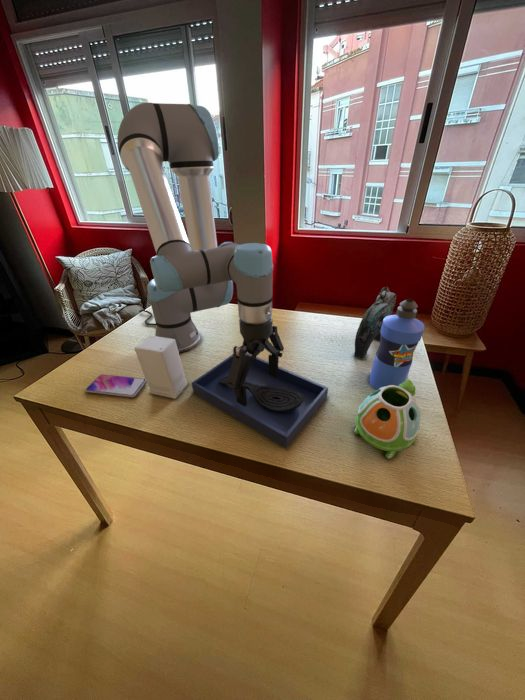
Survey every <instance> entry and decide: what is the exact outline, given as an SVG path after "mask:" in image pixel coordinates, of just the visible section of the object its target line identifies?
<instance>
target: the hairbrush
mask: <svg viewBox="0 0 525 700" xmlns="http://www.w3.org/2000/svg"><path fill="white" fill-rule="evenodd" d="M227 380H228V376H227V377H223V378H220V379H219V383H220V384H221V385H226V386H227ZM239 382H240V381H239ZM244 384H245V385H246V389H248V390H249V391H250V392H251V393H252V395H253V396H254V398H255V400H256V401H257V403H258V404H259V405H261V406H262V407H263V408H264V409H267V410H269V411H271V412H278V413H282V412H287V411H292V410H294V409H296V408H297V407H299V406H300V405H301V403H302V402H303V396H302V394H301V391H300V393H298V392H295V391H293V390H287V389H281V388H280V387H279V388H276V387H270V386H269V387H268V386H258V385H255V384H252V383H250V382H247V381H244ZM265 384H266V383H265ZM268 385H269V384H268ZM271 385H272V384H271ZM278 386H279V385H278ZM292 389H293V388H292ZM297 390H298V389H297ZM257 395H258V396H257Z"/></svg>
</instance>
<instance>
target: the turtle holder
mask: <svg viewBox="0 0 525 700" xmlns="http://www.w3.org/2000/svg"><path fill="white" fill-rule="evenodd" d="M415 395H416V386H415V385H414V384H413V382H412V381H411V380H410V379H406V381H404V382H403V383H401V384H400V385H399V386H395V385H389V386H386V387H381V388H380V389H378V390H377V389H375V390H374V391H373V392H371V393H370V394H369V395H368V396H367V397H365V399H364V400H363V401H362V403H361V404H360V405H359V407H358V410H357V416H356V420H355V422H356V427H355V428H354V431H353V433H354V434H355V435H359V436H360V437H361V438H363V440H364V441H365V442H367V443H368V444H369V445H371V446H373V447H374V448H375V449H379V450H381V451H385V457H386V459H392V458H394V456H395V455H396V453H397V452H399V451H402V450H405V449H408V448H409V447H410V446H412V445H413V444H414V442H415V440H416V438H417V435H418V434H419V430H420V428H421V412H422V411H421V408H420V406H419V403H418V402H417V400H416V398H414V396H415Z"/></svg>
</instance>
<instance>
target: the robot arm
mask: <svg viewBox="0 0 525 700" xmlns="http://www.w3.org/2000/svg"><path fill="white" fill-rule="evenodd" d="M116 139H117V140H116V141H117V142H116V143H117V149H118V150H117V151H118V155H119V158H120V162H121V163H122V165H123V167H124V168H125V169H126V170H127V171H128V172H129V174H130V176H131V180H132V183H133V186H134V189H135V192H136V196H137V199H138V202H139V204H140V207H141V211H142V214H143V217H144V220H145V223H146V226H147V230H148V233H149V235H150V239H151V241H152V245H153V248H154V251H155V253H156V255H155V256H152V257H151V258H150V260H149V263H150V269H151V272H152V277H153V279H151V280H150V281H149V282H148V284H147V286H146V291H147V295H148V301H149V302H150V306H151V311H152V312H151V311H148V310H146V311H145V309H140V310H139V311H138V313H142V312H144V313H147V314H148V315H150V316H149V317H147V318H146V319H145V320H144V324H145V325H147V326H154V327H155V336H157V337H163V338H170V339H175V341H176V345H177V348H178V352H179V354H180V353H185V352H188V351H190V350H192V349H194V348H195V347H196V346H198V345H199V344H200V341H201V334H200V332H199V330H198V327H197V326H196V325H195V323H194V321H193V319H192V315H191V314H192V313H196V312H201V311H206V310H209V309H215V308H220V307H222V306H226V305H229V303H230V302H232V301H231V300H232V299H233V294H234V284H235V286H236V295H237V311H238V318H239V319H238V320H239V321H238V324H239V334H240V335H241V337H242V339H243V341H242V345H240V346H237V345H234V347H233V351H232V352H233V353H232V354H233V360H232V364H231V368H230V372H229V376H228V380H227V386H228V387H230V388H232V389H234V392H235V395H236V398H237V402H238V403H240V404H241V405H243V406H246V405H247V398H246V385H245V384H244V381H245V379H246V376H247V374H248V371H249V369H250V367H251V364H252V362H253V361H255V359H256V357H257V358H258V356H259V355H260V353H262V352H264V351H265V350H266V351H267V352H268V353H270V354H268V355H267V356H268V361H267V362H269V375H271V376H274V377H276V378H277V377H278V367H279V361H280V360H279V358H282V357H283V353H282V352H283V351H284V350H285V348H284V345H283V342H282V339H281V337H280V335H279V333H278V326H277V325H274V323H273V321H274V320H273V289H274V288H273V281H274V278H273V277H274V262H273V251H272V248H271V247H270V246H269V245H268V244H265V243H260V242H247V243H242V244H239V243H237V242H233V241H224V242H222V243H220V244H219V245H218V239H217V231H216V223H215V215H214V207H213V198H212V189H211V180H210V175H211V172H213V170H214V167H215V166H214V162H215V161H217V160H218V158H219V155H220V150H219V149H220V140H219V134H218V130H217V126H216V123H215V120H214V118H213V117H212V114H211V112H210V111H209V109H207V108H206V107H205V106H202V105H197V104H191V103H163V102H162V103H159V102H158V103H157V102H141V103H139V104H136V105H134V106H133V107H131V108H130V109H129V110H128V111H127V113H125V115H124V117H123V118H122V120H121V122H120V125H119V127H118V131H117V138H116ZM164 162H167V163H169V168H170V171H171V172H172V173H173V174H174V175H175V176H176V177H177V181H178V187H179V193H180V198H181V204H182V211H183V216H184V222H185V226H184V223H183V220H182V218H181V214H180V212H179V209H178V207H177V204H176V203H177V202H176V200H175V198H174V195H173V192H172V189H171V187H170V183H169V181H168V178H167V175H166V173H165V170H164V167H163V164H164ZM152 317H153V319H154V321H155V323H150V322H149V320H151V319H152ZM246 353H248V354H250V355H252V356H251V357H250V356H248V355H247V354H246ZM239 381H240V382H239Z"/></svg>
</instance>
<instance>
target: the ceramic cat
mask: <svg viewBox="0 0 525 700" xmlns="http://www.w3.org/2000/svg"><path fill="white" fill-rule="evenodd" d="M396 301H397V294H396V293H395V292H391V291H390V289H389V287H388V286H386V287H385V286H384V287H381V290H380V292H378V294H377V297H376V299H375V302H374V303H373V304H372V305H371V306H369V308H368V309H367V310H366V311H365V313H364V315H363V316H362V319H361V320H360V322H359V325H358V328H357V330H356V333H355V338H354V352H353V353H354V358H357V359H359V360H363V359H365V358H366V357H367V354H368V351H369V349H370V347H371V345H372V343H373V341H374V340H376V341H380V336H381V332H380V331H381V327H382V323H383V319H384V318H385V317H387V316H390V315H393V311H394V308H395V306H396Z"/></svg>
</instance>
